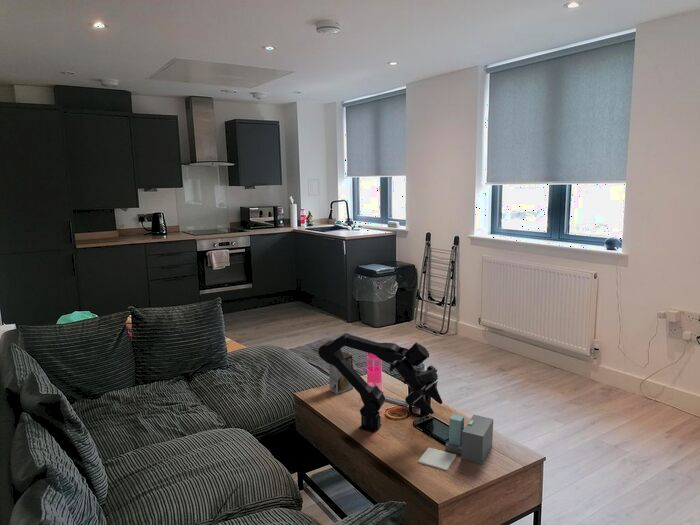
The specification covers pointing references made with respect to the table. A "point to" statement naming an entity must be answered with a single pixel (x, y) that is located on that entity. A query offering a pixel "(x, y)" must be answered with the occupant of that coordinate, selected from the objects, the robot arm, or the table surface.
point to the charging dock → (475, 440)
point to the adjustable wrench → (395, 401)
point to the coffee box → (339, 377)
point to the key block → (456, 430)
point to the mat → (437, 458)
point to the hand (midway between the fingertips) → (437, 408)
